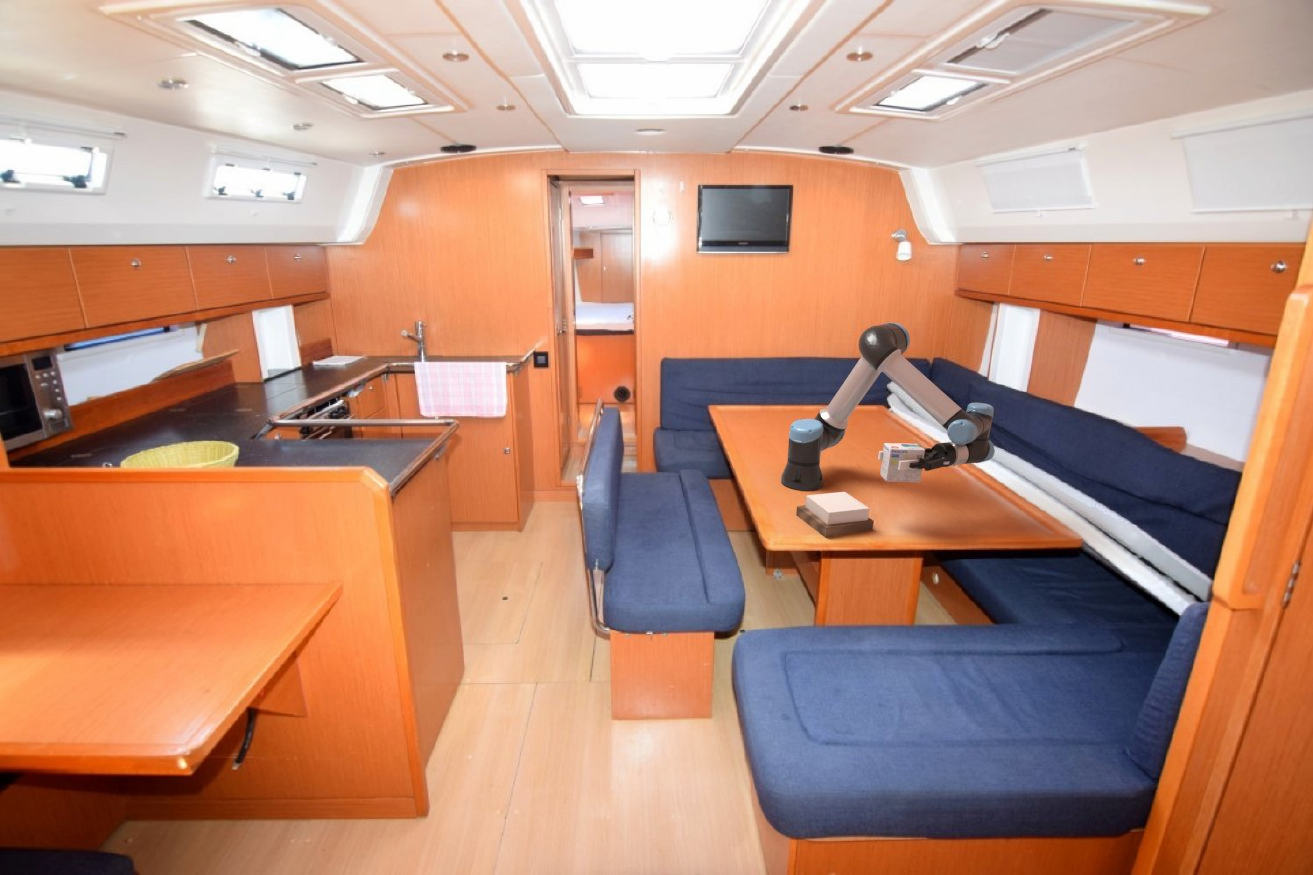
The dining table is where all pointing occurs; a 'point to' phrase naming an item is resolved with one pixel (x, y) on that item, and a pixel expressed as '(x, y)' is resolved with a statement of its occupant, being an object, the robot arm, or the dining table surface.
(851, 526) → the walnut slab
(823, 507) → the white slab
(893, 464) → the light bulb box
